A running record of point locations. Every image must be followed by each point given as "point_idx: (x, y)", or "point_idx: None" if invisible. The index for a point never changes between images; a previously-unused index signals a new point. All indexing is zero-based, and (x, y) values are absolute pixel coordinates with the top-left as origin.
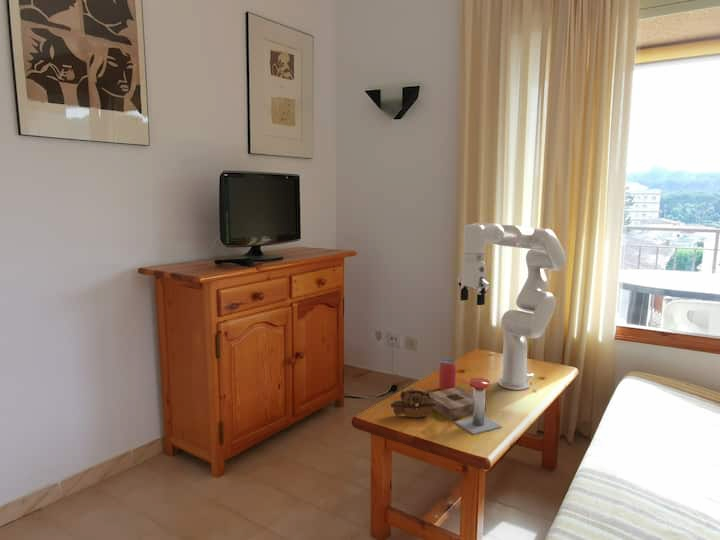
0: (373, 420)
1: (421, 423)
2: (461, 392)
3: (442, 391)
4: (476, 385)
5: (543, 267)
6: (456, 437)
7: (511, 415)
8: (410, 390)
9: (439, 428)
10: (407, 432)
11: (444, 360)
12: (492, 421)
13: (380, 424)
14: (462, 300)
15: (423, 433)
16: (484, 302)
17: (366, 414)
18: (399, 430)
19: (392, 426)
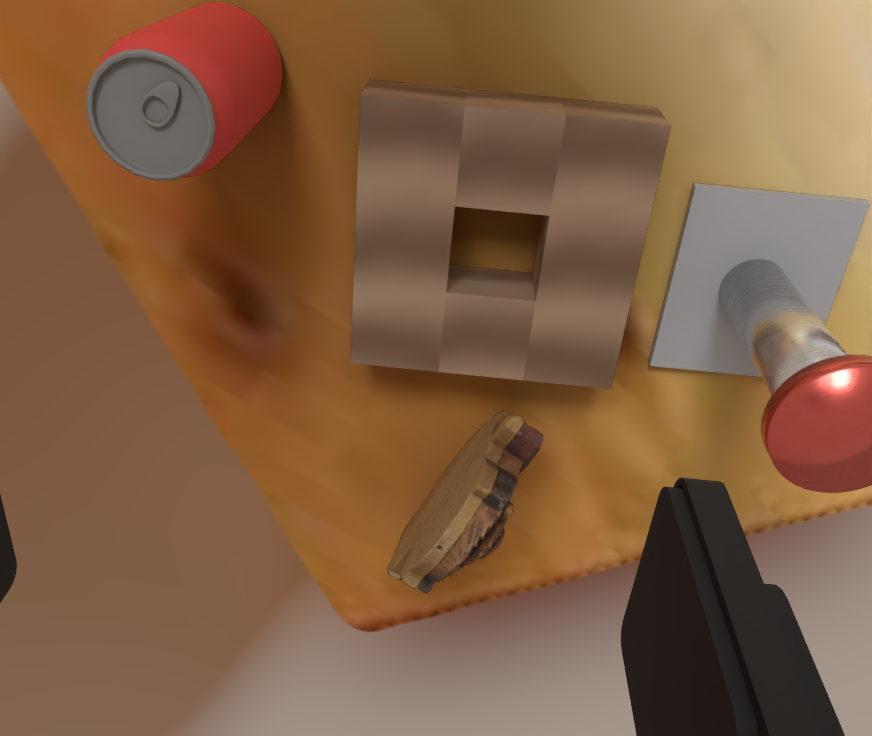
0: (400, 601)
1: (545, 479)
2: (455, 162)
3: (374, 256)
4: (864, 482)
5: None
6: (757, 448)
7: (814, 3)
8: (448, 573)
9: (639, 450)
10: (578, 565)
11: (97, 109)
12: (793, 203)
13: (450, 600)
14: (2, 545)
15: (628, 526)
16: (732, 513)
17: (331, 594)
18: (542, 577)
19: (494, 578)
